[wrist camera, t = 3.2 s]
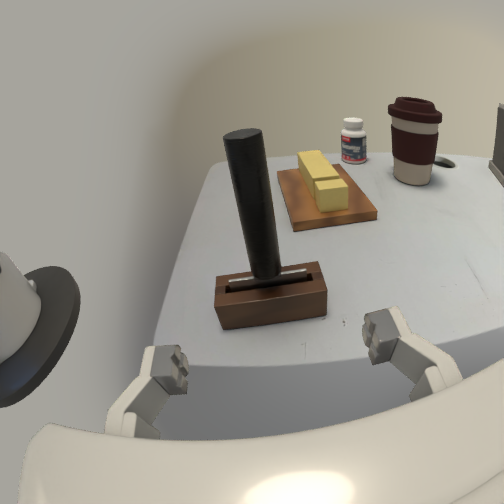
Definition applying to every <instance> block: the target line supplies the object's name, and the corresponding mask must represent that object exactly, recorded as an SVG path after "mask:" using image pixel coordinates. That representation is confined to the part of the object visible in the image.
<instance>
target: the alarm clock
mask: <svg viewBox="0 0 504 504" xmlns="http://www.w3.org/2000/svg"><path fill="white" fill-rule="evenodd" d="M488 167H489V168H490V170H491V171H492V172H493V173H494V175H495V176H496V177H497V179H498V180H499V181H500V183H501V184H502V185H503V187H504V104H499V107H498V115H497V129H496V138H495V146H494V155H493V160H490V161H489V166H488Z"/></svg>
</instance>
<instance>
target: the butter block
mask: <svg viewBox="0 0 504 504" xmlns="http://www.w3.org/2000/svg"><path fill="white" fill-rule="evenodd" d="M297 155H298V165H299V171H300V173H301V175H302V177H303V179H304V181H305V183H306V185H307V187H308V189H309V191H310V193H311V195H312V197H313V199H314V200H316V195H315V182H317V181H326V180H334V179H340V175H339V174H338V173H337V171H336V170H335V169H334V168H333V166H332V165H331V164H330V163H329V162H328V160H327V159H326V158H325V157H324V155H323V154H322V153H321V152H320V151H319V150H314V151H305V152H298V153H297Z"/></svg>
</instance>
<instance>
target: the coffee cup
mask: <svg viewBox="0 0 504 504" xmlns="http://www.w3.org/2000/svg"><path fill="white" fill-rule="evenodd" d="M388 114H389V115H391V116H392V124H391V131H392V153H393V156H394V175H395V177H396V178H397V179H398V180H400V181H402V182H404V183H407V184H411V185H425V184H427V183H428V182H429V181H430V177H431V171H432V166H433V163H434V161H435V155H436V148H437V141H438V124H439V123H441V122H442V113H440V112H439V111H437V110H436V109H435V106H434V104H433V103H432V102H430V101H427V100H423V99H418V98H411V97H398V98H396V101H395V103H394V104H390V105H389V106H388Z"/></svg>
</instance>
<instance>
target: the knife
mask: <svg viewBox="0 0 504 504" xmlns="http://www.w3.org/2000/svg"><path fill="white" fill-rule="evenodd" d="M223 141H224V146H225V151H226V155H227V160H228V165H229V169H230V174H231V179H232V184H233V188H234V193H235V198H236V202H237V207H238V212H239V216H240V221H241V225H242V230H243V235H244V239H245V244H246V249H247V253H248V258H249V262H250V267H251V272H252V275H253V276H251V277H244V278H238V279H230V280H229V285H230V288H231V292H232V293H233V292H240V291H247V290H254V289H261V288H268V287H275V286H282V285H288V284H295V283H301V282H307V270H306V268H304V269H298V270H291V271H285V272H281V261H280V254H279V246H278V238H277V231H276V223H275V216H274V209H273V202H272V195H271V188H270V181H269V174H268V167H267V161H266V155H265V148H264V141H263V136H262V131H261V130H260V129H254V128H251V129H241V130H237V131H233V132H230V133H228V134H226V135H225V136H223Z"/></svg>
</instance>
